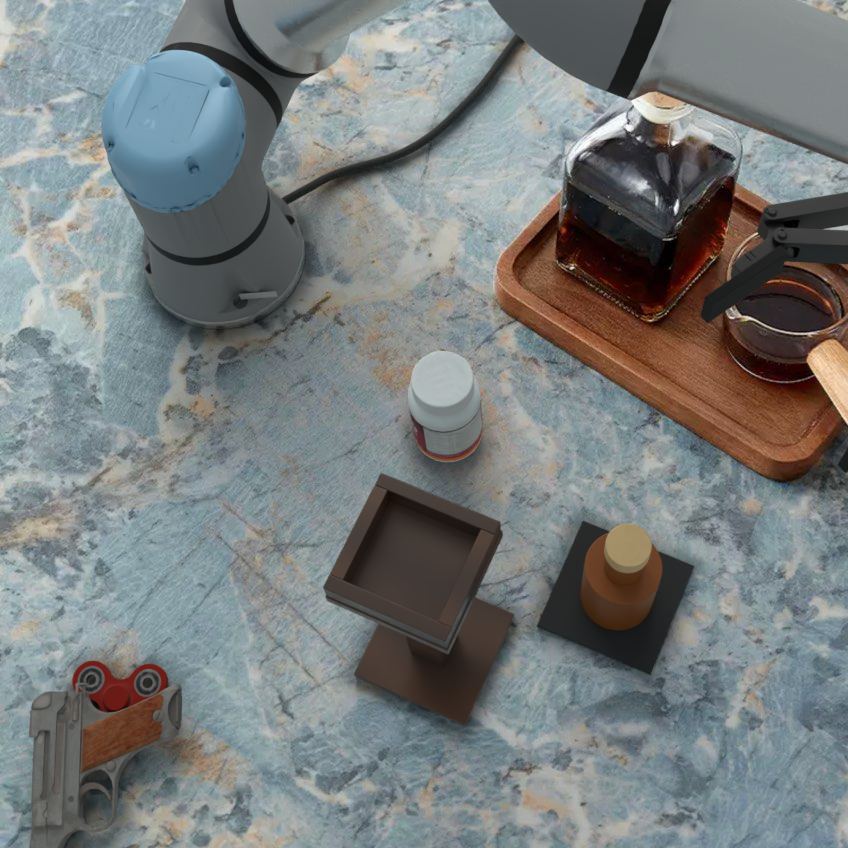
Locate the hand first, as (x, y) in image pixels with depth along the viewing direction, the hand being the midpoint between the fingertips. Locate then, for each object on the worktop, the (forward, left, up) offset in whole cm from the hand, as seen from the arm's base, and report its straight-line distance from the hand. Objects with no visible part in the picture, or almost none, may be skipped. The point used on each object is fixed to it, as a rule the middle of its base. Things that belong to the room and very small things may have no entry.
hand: (773, 383), depth 85 cm
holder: (+19, -17, -28) cm, 38 cm away
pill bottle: (+1, -24, -28) cm, 37 cm away
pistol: (+39, -30, -27) cm, 56 cm away
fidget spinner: (+34, -40, -28) cm, 59 cm away
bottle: (+9, -5, -28) cm, 30 cm away
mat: (+9, -5, -28) cm, 30 cm away
